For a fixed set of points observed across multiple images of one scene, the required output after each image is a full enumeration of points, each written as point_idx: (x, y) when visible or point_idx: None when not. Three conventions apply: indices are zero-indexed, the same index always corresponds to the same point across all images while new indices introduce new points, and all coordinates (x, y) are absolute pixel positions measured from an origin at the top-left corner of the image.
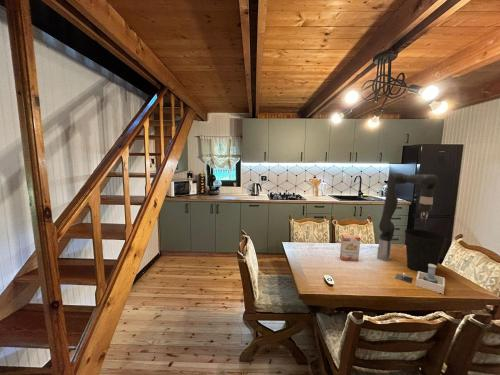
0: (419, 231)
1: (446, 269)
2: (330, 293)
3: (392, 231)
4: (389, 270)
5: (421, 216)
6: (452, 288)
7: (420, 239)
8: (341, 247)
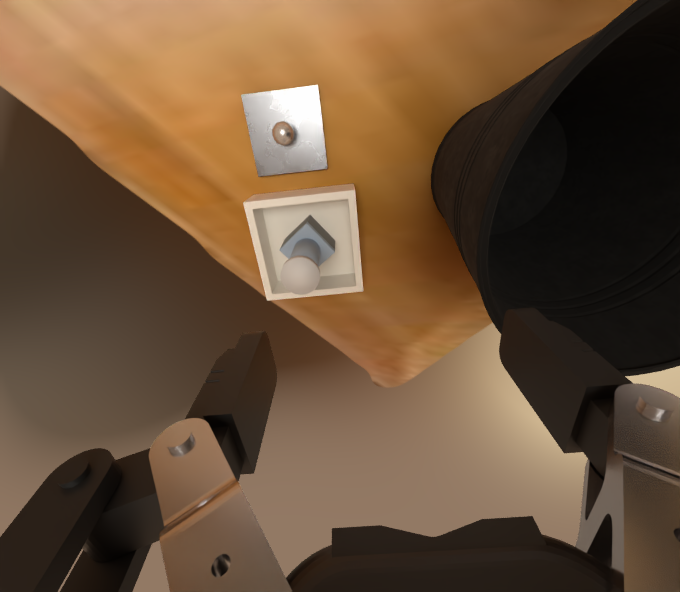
0: None
1: None
2: None
3: None
4: (344, 26)
5: (178, 583)
6: (362, 300)
7: (481, 208)
8: None
